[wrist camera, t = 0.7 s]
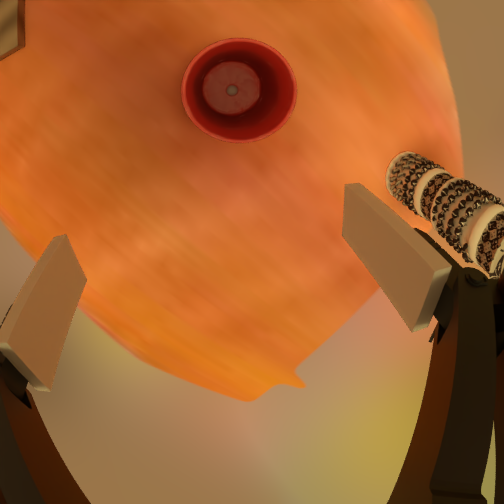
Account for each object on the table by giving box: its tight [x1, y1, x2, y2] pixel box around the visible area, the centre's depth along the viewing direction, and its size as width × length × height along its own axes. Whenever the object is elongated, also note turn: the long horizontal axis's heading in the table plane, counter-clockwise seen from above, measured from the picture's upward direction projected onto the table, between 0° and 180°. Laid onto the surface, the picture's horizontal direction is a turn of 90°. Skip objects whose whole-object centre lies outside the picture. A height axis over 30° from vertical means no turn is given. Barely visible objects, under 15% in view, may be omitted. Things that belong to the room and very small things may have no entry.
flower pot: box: [181, 38, 297, 143], centre depth 28 cm, size 11×11×10 cm
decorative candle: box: [385, 151, 504, 279], centre depth 32 cm, size 9×9×25 cm
